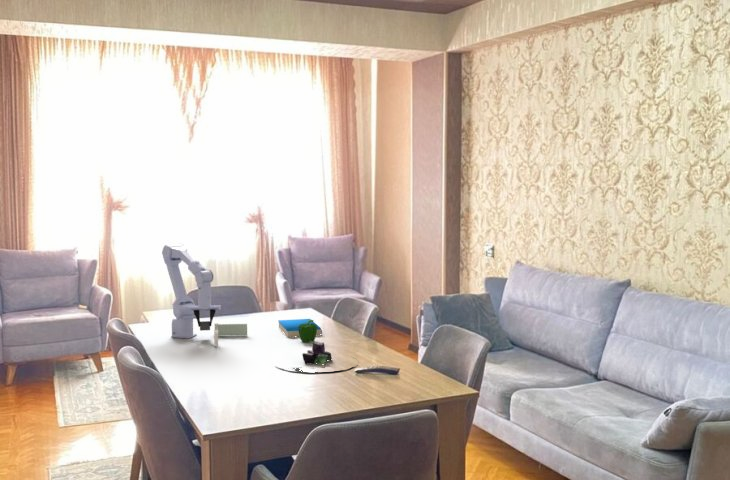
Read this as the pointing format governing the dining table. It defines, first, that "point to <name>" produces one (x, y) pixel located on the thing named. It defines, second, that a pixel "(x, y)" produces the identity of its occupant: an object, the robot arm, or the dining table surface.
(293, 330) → the book
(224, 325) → the door
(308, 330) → the bell pepper
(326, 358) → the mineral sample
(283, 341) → the dining table surface
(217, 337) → the rectangular block
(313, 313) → the dining table surface
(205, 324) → the grey stepped block
